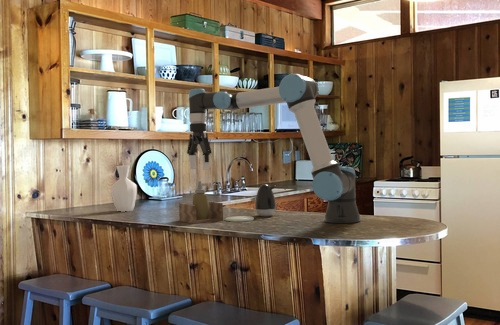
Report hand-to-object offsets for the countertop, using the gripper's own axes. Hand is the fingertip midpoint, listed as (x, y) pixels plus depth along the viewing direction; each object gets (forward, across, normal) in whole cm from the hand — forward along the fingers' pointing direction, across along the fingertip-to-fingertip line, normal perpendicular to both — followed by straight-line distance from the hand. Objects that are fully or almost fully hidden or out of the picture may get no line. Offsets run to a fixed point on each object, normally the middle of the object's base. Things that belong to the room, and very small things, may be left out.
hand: (199, 169), depth 254 cm
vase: (+24, +68, +13) cm, 73 cm away
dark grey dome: (+24, -7, -31) cm, 40 cm away
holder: (+23, 0, 0) cm, 23 cm away
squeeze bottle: (+24, 0, 0) cm, 24 cm away
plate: (+23, -11, -14) cm, 29 cm away
